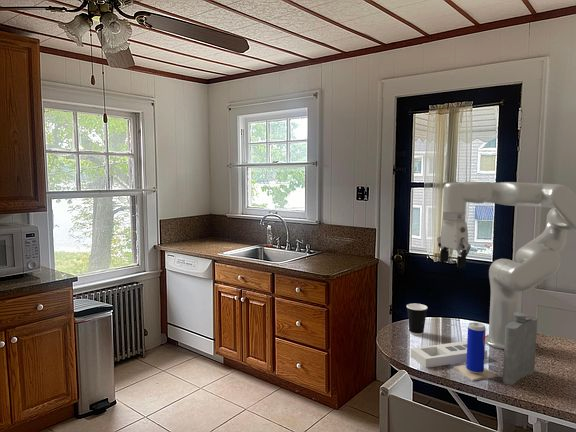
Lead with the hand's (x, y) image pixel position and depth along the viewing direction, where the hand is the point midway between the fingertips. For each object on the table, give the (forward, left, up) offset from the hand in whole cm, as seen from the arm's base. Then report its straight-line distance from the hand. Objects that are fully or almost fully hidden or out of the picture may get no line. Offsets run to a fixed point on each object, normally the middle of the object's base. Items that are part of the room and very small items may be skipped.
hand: (452, 264), depth 159 cm
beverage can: (+6, +21, -30) cm, 37 cm away
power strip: (+7, +9, -30) cm, 32 cm away
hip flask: (-5, +27, -31) cm, 41 cm away
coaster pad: (+6, +21, -30) cm, 37 cm away
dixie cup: (+5, -14, -31) cm, 34 cm away
